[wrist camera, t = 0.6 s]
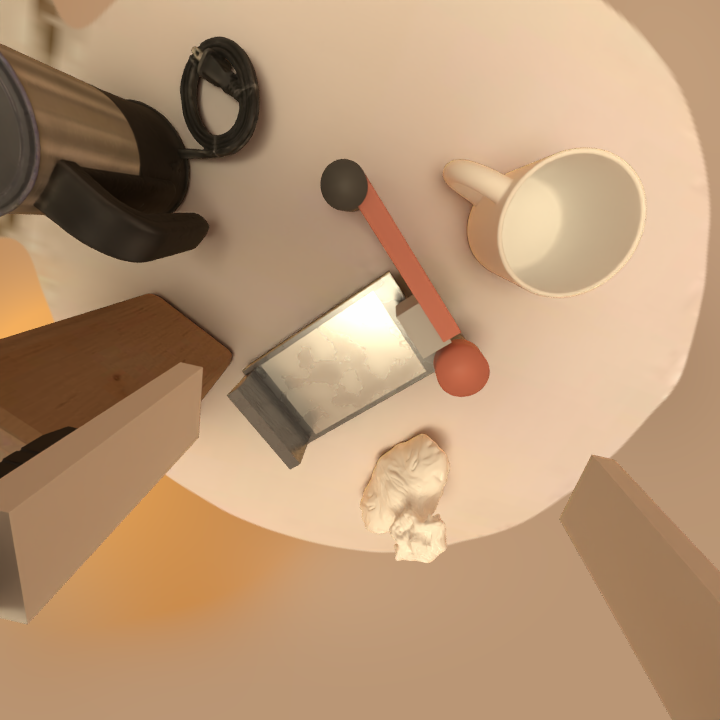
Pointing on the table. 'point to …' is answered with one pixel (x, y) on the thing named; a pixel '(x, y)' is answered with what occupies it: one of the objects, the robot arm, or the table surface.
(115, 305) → the wooden block
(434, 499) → the bust
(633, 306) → the table surface
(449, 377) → the lever
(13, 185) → the milk frother
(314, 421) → the metal tray
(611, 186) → the mug
